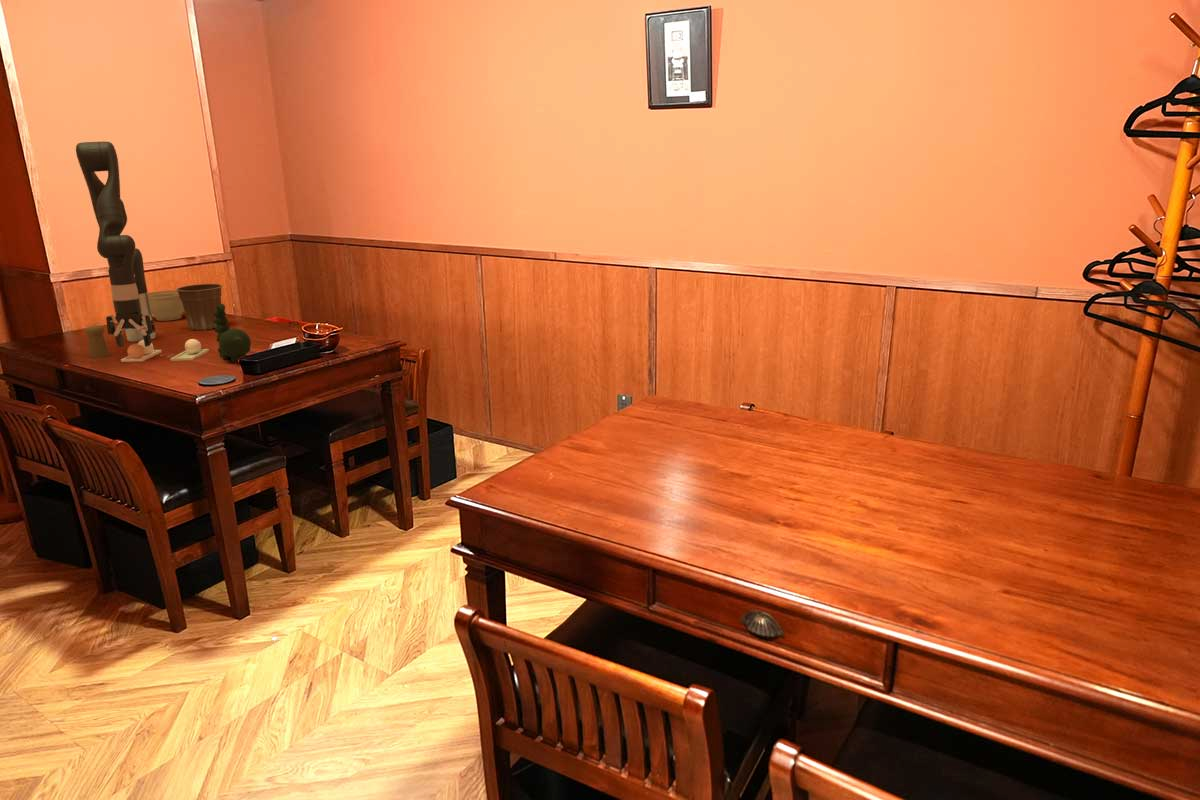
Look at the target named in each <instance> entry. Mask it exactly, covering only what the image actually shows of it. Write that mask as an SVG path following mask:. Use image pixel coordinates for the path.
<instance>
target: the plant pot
mask: <svg viewBox="0 0 1200 800" xmlns="http://www.w3.org/2000/svg"><path fill="white" fill-rule="evenodd" d="M222 287H223V285H222V284H219V283H197V284H191V285H185V286H180V287H177V288H176V289H175V290H176V291H178V294H179V297H180V300H181V301H182V304H183V308H184V314H185V317H186V322H187V325H188V328H189V330H190V331H194V330H196V331H208V330H207V329H209V330H213V328H216V327H217V325H216V324H215V323H214V322H213V321H214V320H215V318H216V317H215V316H214V315H213V313H214V312H215V311H216V310H217V309H216V307H217V305H218V304H222V298H221V297H222Z"/></svg>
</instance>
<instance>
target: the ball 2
mask: <svg viewBox="0 0 1200 800" xmlns="http://www.w3.org/2000/svg"><path fill="white" fill-rule="evenodd" d="M137 342H138V343H137V344H139V345H141V346H142V347H143V348H144V350H145V353H144V355H147V354H150V353H151V352H152V351H153V350H154V345H153V343H152V342H151V344H150V346H148V347H145V344H144V340H141V341H137Z"/></svg>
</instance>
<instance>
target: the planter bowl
mask: <svg viewBox="0 0 1200 800" xmlns="http://www.w3.org/2000/svg"><path fill="white" fill-rule="evenodd" d="M148 298H149V303H150V309H151V312H152V316H153V317H154V318H155V320H156V321H159V322H160V321H161V322H162V321H163V322H166V321H167V322H169V321H176V320H180V319H182V317H183V315H182V314H183V313H185V311H184V308H183V304H182V301H181V300H180V297H179V294H178V291H176V289H173V290H169V289H168V290H157V291H150V292H148Z"/></svg>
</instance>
